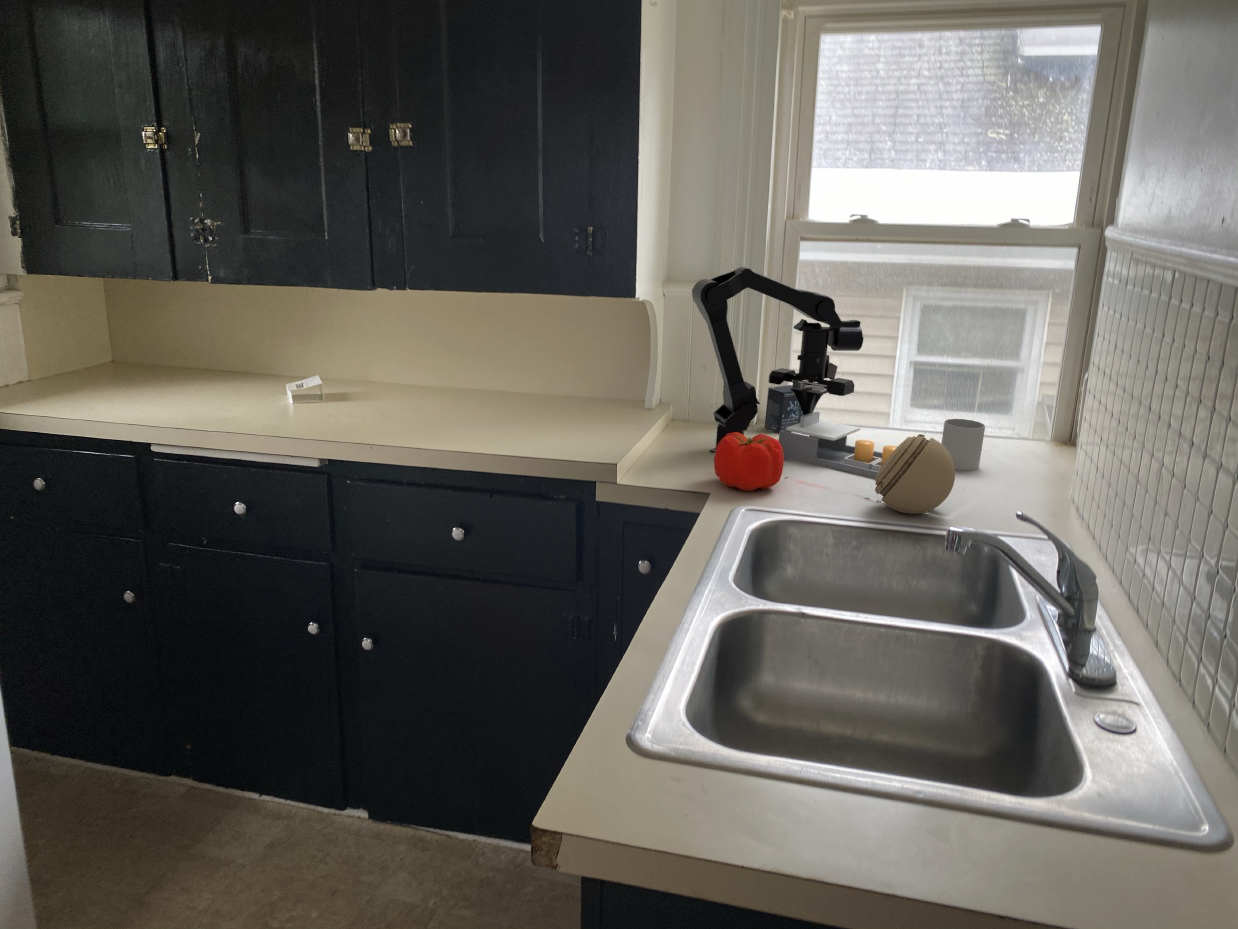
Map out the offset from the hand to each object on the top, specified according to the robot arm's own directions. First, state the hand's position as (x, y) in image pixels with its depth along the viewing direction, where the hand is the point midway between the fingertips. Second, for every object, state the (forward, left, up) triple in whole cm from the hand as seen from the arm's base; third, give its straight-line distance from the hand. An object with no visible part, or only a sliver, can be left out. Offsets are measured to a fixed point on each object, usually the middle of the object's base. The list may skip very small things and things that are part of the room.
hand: (807, 419), depth 217 cm
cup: (+14, -31, -8) cm, 35 cm away
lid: (-2, -5, -1) cm, 6 cm away
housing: (-2, -12, -8) cm, 14 cm away
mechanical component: (-23, -35, -8) cm, 42 cm away
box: (+14, +13, -8) cm, 21 cm away
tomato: (-32, -5, -8) cm, 33 cm away
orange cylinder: (-2, -22, -7) cm, 23 cm away
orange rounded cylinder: (-2, -15, -7) cm, 17 cm away
